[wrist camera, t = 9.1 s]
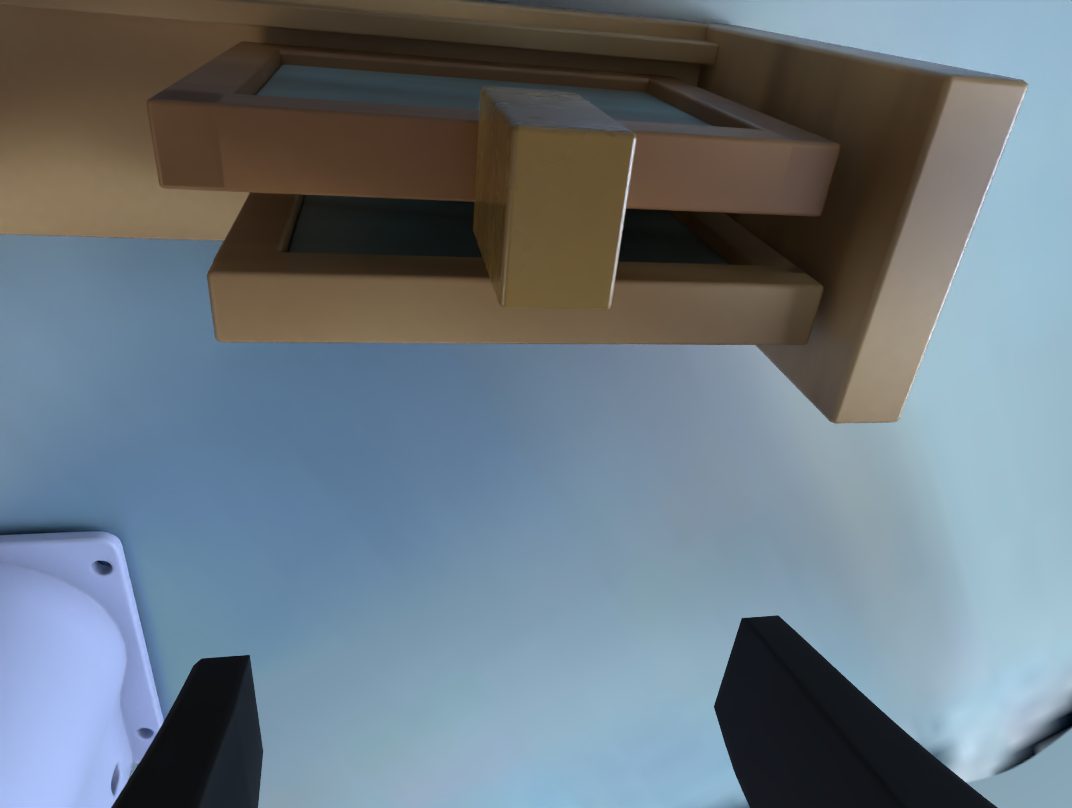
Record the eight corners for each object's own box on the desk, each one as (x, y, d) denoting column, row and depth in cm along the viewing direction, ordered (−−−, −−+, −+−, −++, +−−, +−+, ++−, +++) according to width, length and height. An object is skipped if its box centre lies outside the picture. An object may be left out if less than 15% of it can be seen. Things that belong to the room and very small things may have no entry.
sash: (661, 144, 16) (923, 316, 9) (247, 119, 15) (97, 305, 7) (676, 55, 16) (983, 155, 8) (236, 16, 14) (52, 95, 6)
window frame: (694, 241, 19) (899, 424, 12) (-222, 209, 15) (-808, 458, 8) (738, 25, 17) (1034, 81, 9) (-340, -81, 13) (-1379, -134, 5)
